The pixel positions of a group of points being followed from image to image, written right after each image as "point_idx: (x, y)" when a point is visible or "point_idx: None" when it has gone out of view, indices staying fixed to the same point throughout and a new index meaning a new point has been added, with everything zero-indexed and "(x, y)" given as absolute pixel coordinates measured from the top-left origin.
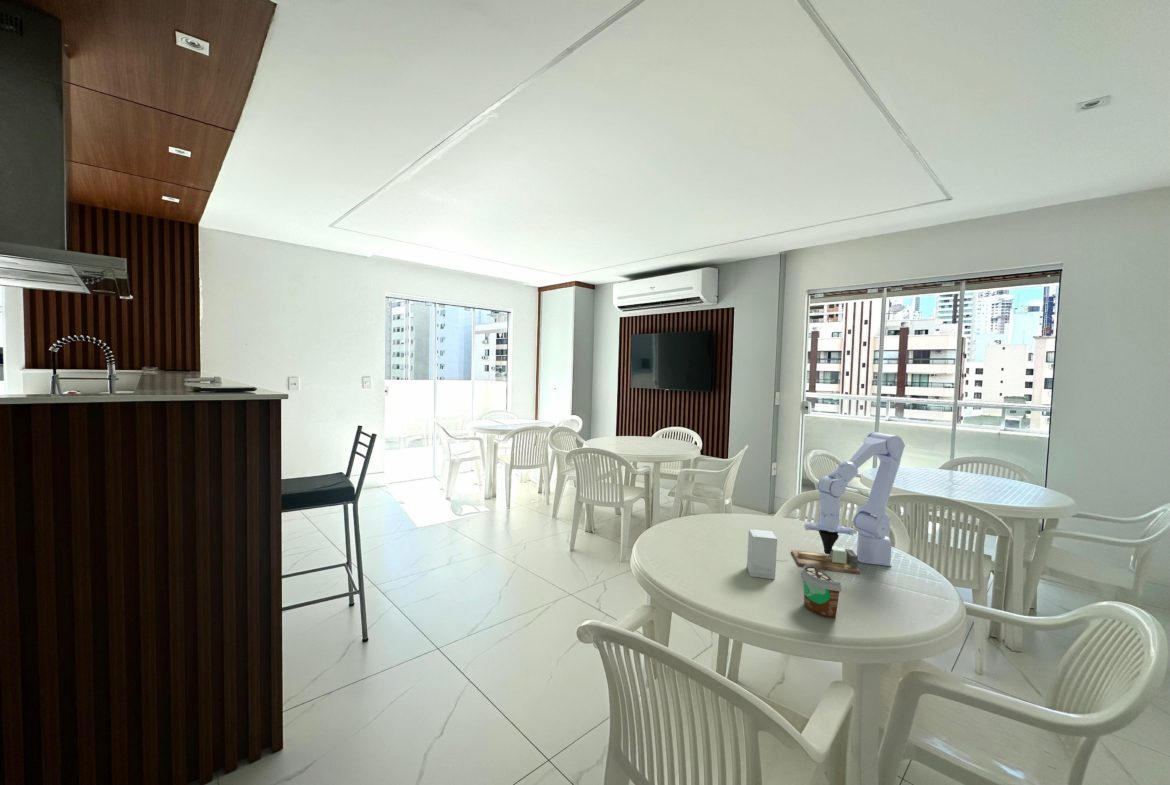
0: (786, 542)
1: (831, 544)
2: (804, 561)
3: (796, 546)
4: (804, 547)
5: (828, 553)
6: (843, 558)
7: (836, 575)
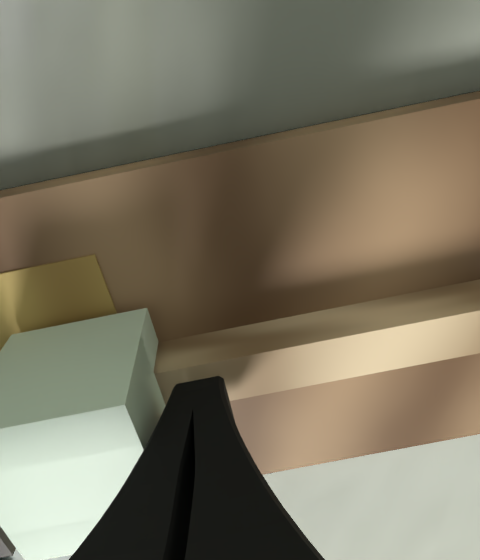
0: (466, 556)
1: (145, 493)
2: (450, 184)
3: (409, 529)
4: (352, 539)
5: (190, 385)
6: (18, 366)
7: (95, 10)
